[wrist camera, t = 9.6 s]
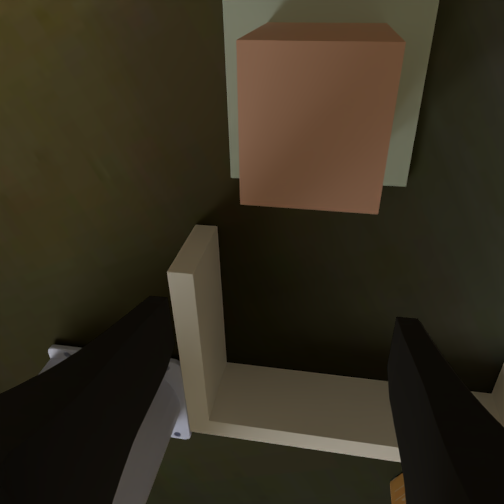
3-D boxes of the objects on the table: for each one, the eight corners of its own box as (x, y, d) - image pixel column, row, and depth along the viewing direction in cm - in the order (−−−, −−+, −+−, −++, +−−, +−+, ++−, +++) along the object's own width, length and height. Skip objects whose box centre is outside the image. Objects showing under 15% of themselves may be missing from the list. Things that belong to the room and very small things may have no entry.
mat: (233, 172, 21) (230, 178, 21) (225, -21, 17) (221, -21, 17) (404, 181, 20) (406, 186, 19) (440, -26, 16) (444, -26, 15)
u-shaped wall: (210, 372, 29) (190, 431, 25) (195, 224, 23) (166, 271, 19) (507, 409, 26) (535, 481, 22) (577, 250, 20) (630, 312, 17)
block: (266, 147, 20) (240, 204, 15) (267, 22, 17) (236, 39, 12) (368, 152, 19) (378, 214, 14) (386, 23, 16) (406, 42, 11)
